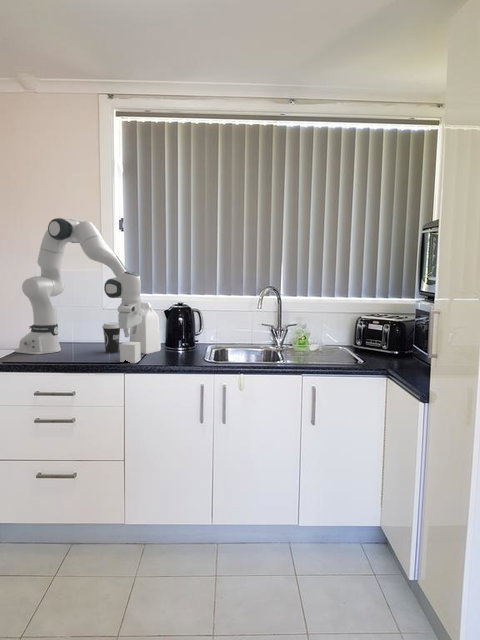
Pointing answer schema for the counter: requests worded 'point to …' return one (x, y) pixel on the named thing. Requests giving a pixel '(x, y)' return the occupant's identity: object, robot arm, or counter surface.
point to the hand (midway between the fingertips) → (130, 335)
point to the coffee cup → (111, 336)
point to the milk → (147, 330)
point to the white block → (130, 352)
